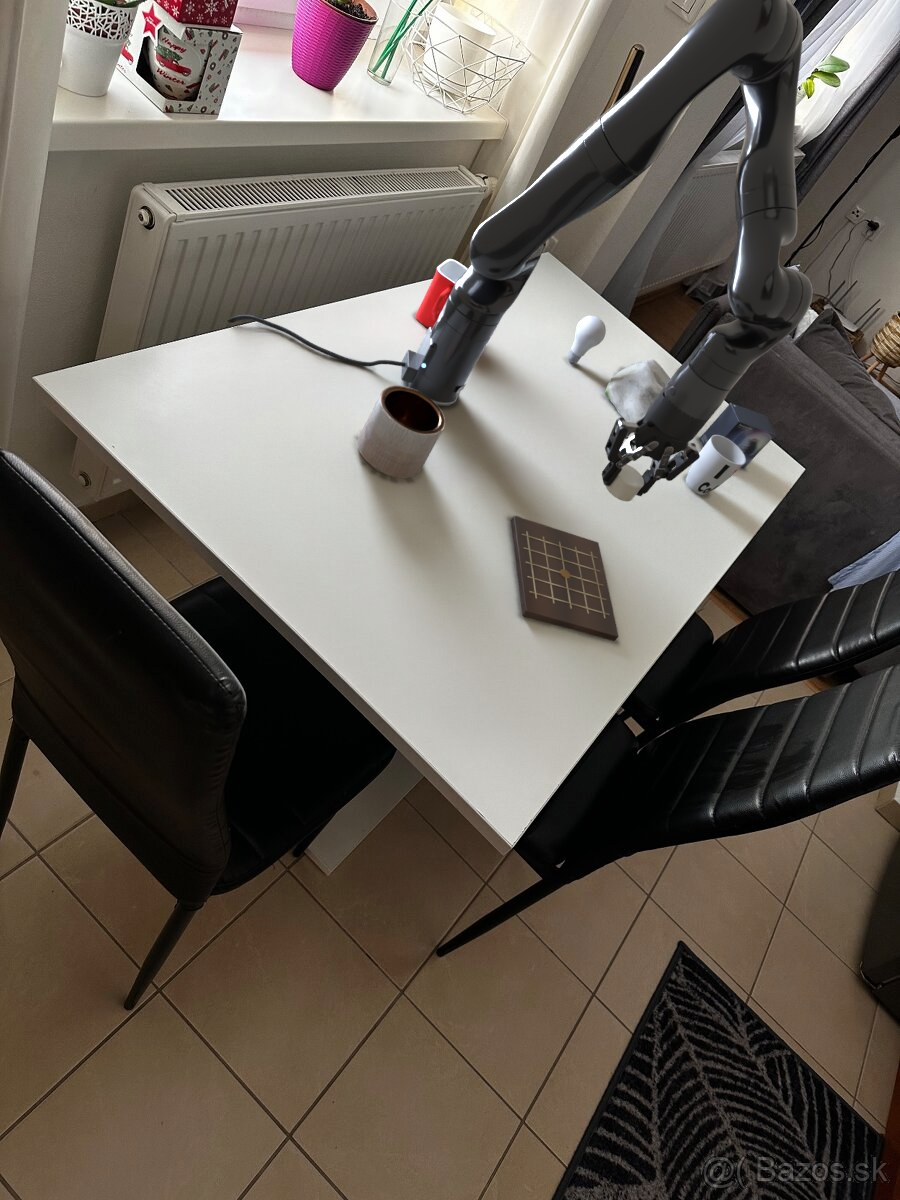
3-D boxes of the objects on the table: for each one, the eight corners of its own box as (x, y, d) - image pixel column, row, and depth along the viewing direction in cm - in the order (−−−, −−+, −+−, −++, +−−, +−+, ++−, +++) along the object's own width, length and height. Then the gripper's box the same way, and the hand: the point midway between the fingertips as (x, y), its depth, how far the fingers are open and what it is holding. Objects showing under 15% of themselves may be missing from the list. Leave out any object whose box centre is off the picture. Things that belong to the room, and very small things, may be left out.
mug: (427, 303, 169) (450, 256, 162) (462, 327, 170) (486, 281, 162) (403, 323, 161) (426, 275, 153) (439, 348, 161) (464, 301, 154)
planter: (380, 422, 138) (403, 376, 132) (432, 463, 138) (458, 419, 131) (343, 446, 130) (365, 398, 124) (397, 490, 130) (423, 444, 123)
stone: (647, 346, 193) (697, 388, 192) (626, 371, 198) (676, 413, 196) (610, 362, 171) (667, 411, 169) (588, 391, 175) (643, 439, 174)
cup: (694, 501, 167) (726, 464, 160) (672, 470, 171) (703, 434, 164) (719, 500, 172) (753, 465, 165) (698, 471, 175) (729, 435, 169)
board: (522, 615, 124) (526, 610, 123) (510, 520, 137) (514, 514, 136) (614, 641, 130) (619, 636, 129) (594, 546, 143) (598, 541, 142)
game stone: (607, 496, 125) (619, 481, 123) (601, 473, 129) (612, 459, 127) (636, 505, 127) (647, 491, 125) (629, 482, 130) (640, 468, 128)
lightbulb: (587, 367, 183) (615, 324, 175) (576, 374, 178) (604, 331, 171) (565, 349, 183) (592, 306, 176) (553, 356, 179) (581, 313, 171)
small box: (706, 458, 181) (739, 421, 174) (697, 437, 185) (728, 401, 178) (744, 470, 185) (778, 434, 178) (735, 450, 189) (767, 414, 182)
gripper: (724, 399, 121) (654, 483, 133) (640, 366, 116) (575, 456, 127) (739, 432, 116) (665, 517, 128) (652, 399, 111) (583, 490, 123)
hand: (621, 486), depth 127 cm, fingers closed on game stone, 5 cm apart
